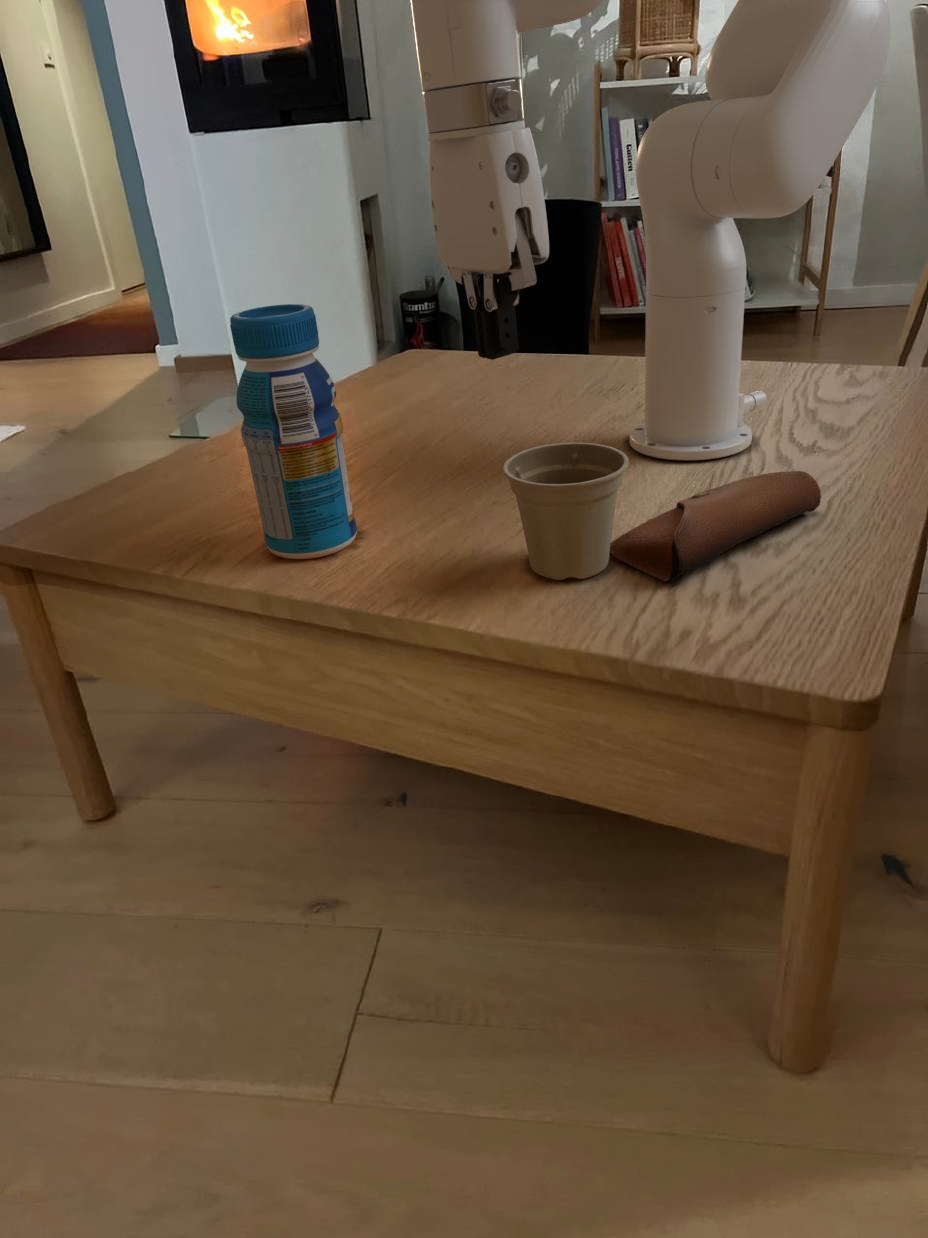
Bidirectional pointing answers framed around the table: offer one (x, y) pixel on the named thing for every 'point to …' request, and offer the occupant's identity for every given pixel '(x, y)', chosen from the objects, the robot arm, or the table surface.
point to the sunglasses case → (715, 523)
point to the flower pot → (567, 505)
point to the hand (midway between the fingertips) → (498, 354)
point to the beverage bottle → (292, 433)
